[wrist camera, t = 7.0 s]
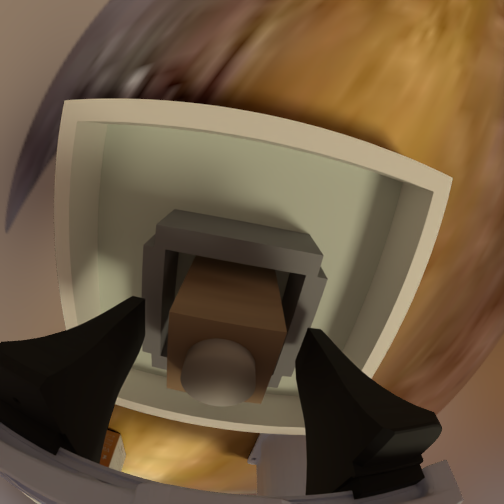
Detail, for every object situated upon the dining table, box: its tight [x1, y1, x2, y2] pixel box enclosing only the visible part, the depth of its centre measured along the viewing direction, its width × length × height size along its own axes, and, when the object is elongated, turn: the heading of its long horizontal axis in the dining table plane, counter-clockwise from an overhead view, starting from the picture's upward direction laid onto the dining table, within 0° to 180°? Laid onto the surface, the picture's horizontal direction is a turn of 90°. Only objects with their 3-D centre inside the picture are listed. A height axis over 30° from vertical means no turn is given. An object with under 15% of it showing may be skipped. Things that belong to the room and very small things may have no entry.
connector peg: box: [167, 255, 287, 407], centre depth 12 cm, size 4×4×7 cm
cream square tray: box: [54, 99, 453, 435], centre depth 14 cm, size 18×18×4 cm
